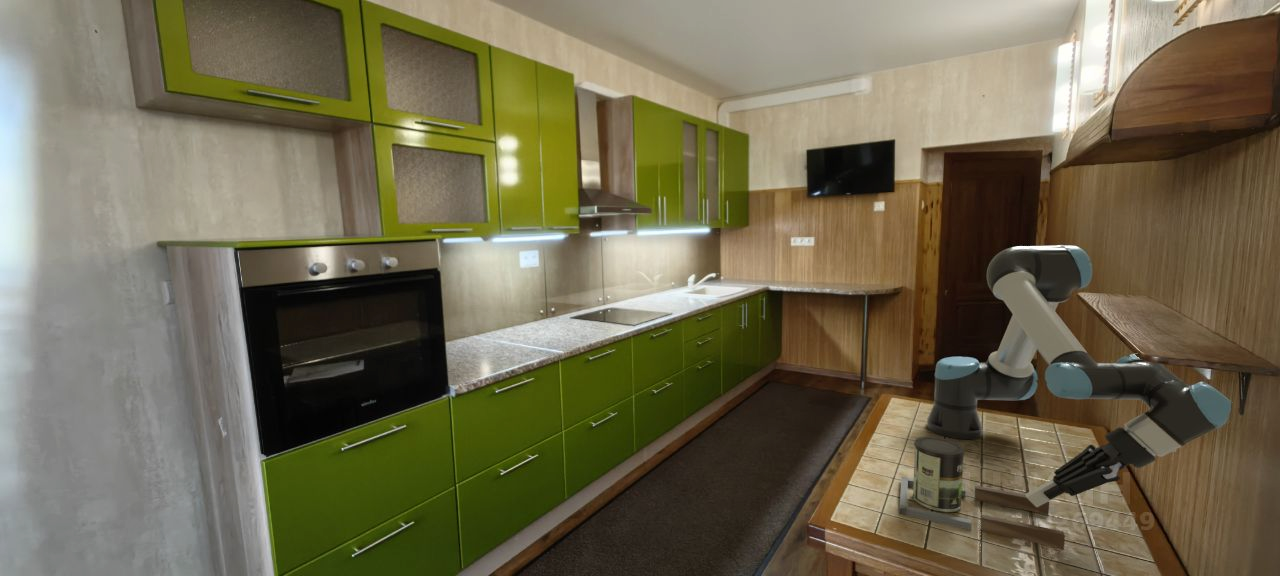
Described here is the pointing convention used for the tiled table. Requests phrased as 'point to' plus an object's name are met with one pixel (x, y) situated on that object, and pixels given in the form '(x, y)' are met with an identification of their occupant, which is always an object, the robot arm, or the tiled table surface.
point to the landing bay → (928, 514)
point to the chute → (1013, 527)
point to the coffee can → (938, 474)
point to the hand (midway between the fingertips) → (1031, 500)
